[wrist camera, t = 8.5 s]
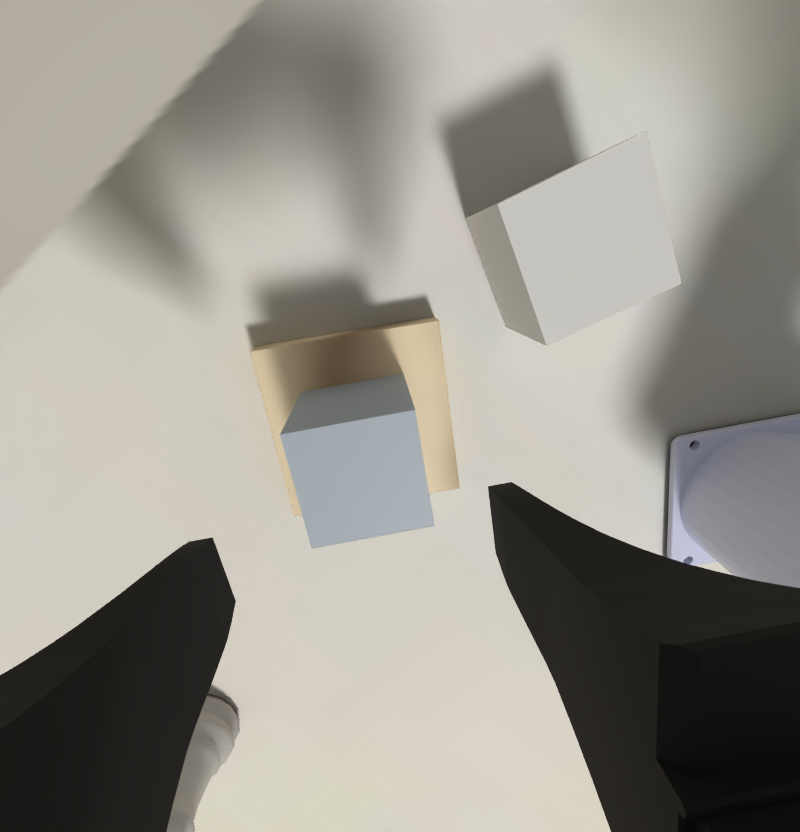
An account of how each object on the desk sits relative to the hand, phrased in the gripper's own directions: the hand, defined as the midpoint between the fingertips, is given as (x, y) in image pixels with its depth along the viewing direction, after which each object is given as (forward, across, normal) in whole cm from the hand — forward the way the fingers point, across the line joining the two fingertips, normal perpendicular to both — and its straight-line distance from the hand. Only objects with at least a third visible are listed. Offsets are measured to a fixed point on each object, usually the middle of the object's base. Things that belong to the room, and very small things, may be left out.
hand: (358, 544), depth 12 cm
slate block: (+9, 0, 0) cm, 9 cm away
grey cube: (+10, -9, -6) cm, 15 cm away
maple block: (+11, 0, 0) cm, 11 cm away
